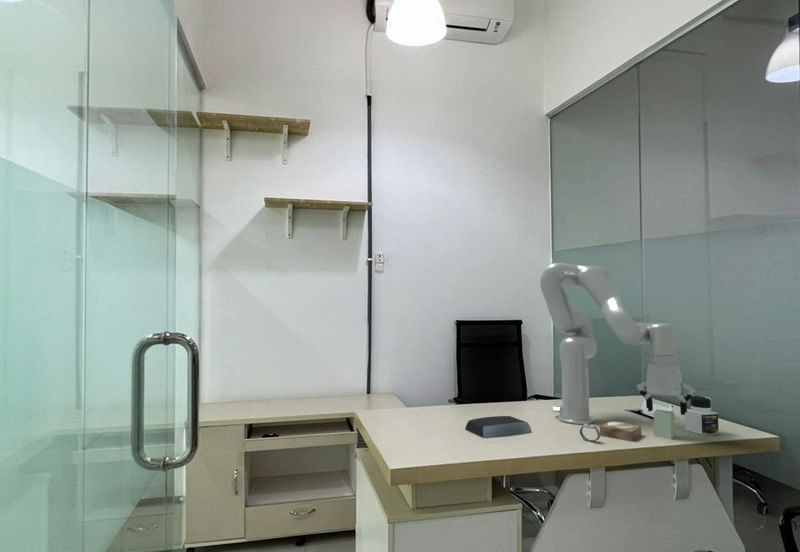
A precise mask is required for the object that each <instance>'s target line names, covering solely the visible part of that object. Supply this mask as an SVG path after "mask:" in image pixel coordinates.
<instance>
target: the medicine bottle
mask: <svg viewBox="0 0 800 552" xmlns="http://www.w3.org/2000/svg"><path fill="white" fill-rule="evenodd" d="M689 400H690V408H687V412H685V414H684V431H686V432H687V431H688V432H691V433H694V434H697V435H699V436H700V435H701V436H710V435H718V434H719V432H720V431H719V429H720V428H719V413H718V412H716V411H712V399H711V398H710V397H707V396H702V395H693V396H692V398H690V399H689Z"/></svg>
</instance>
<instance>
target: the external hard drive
mask: <svg viewBox="0 0 800 552" xmlns="http://www.w3.org/2000/svg"><path fill="white" fill-rule="evenodd" d="M464 430H465V431H467V432H468V433H471V434H473V435H475V436H478V437H480V438H482V439H489V438H492V439H493V438H501V437H512V436H519V435H525V434H530V433H532V429H531V425H530V424H529V422H528V421H525V420H522V419H519V418H516V417H513V416H512V415H506V416H505V415H498V416H497V415H495V416H485V417H480V418H479V417H478V418H473V419H470V420H468V421H467V422H466V426H465V428H464Z"/></svg>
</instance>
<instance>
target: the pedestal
mask: <svg viewBox="0 0 800 552" xmlns="http://www.w3.org/2000/svg"><path fill="white" fill-rule="evenodd" d="M599 432H600V437H601V436H602V437H607V438H611V439H617V440H623V441H628V442H634V441H635V440H636V439H638V438H640V437H641V436H642V426H641V425H636V424H631V423H627V422H622V421H621V422H620V421H612V420H609V421H608V422H606V423H604V424H601V425H600V426H599Z"/></svg>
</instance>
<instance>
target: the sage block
mask: <svg viewBox="0 0 800 552" xmlns="http://www.w3.org/2000/svg"><path fill="white" fill-rule="evenodd" d="M675 433H676V430H675V411H672V410H671V411H670V410H665V409H656V410H653V437H654V436H656V437H657V438H660V437H662V439H666V438H667V440H672V439H674V437H676V434H675ZM656 437H655V438H656Z"/></svg>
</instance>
